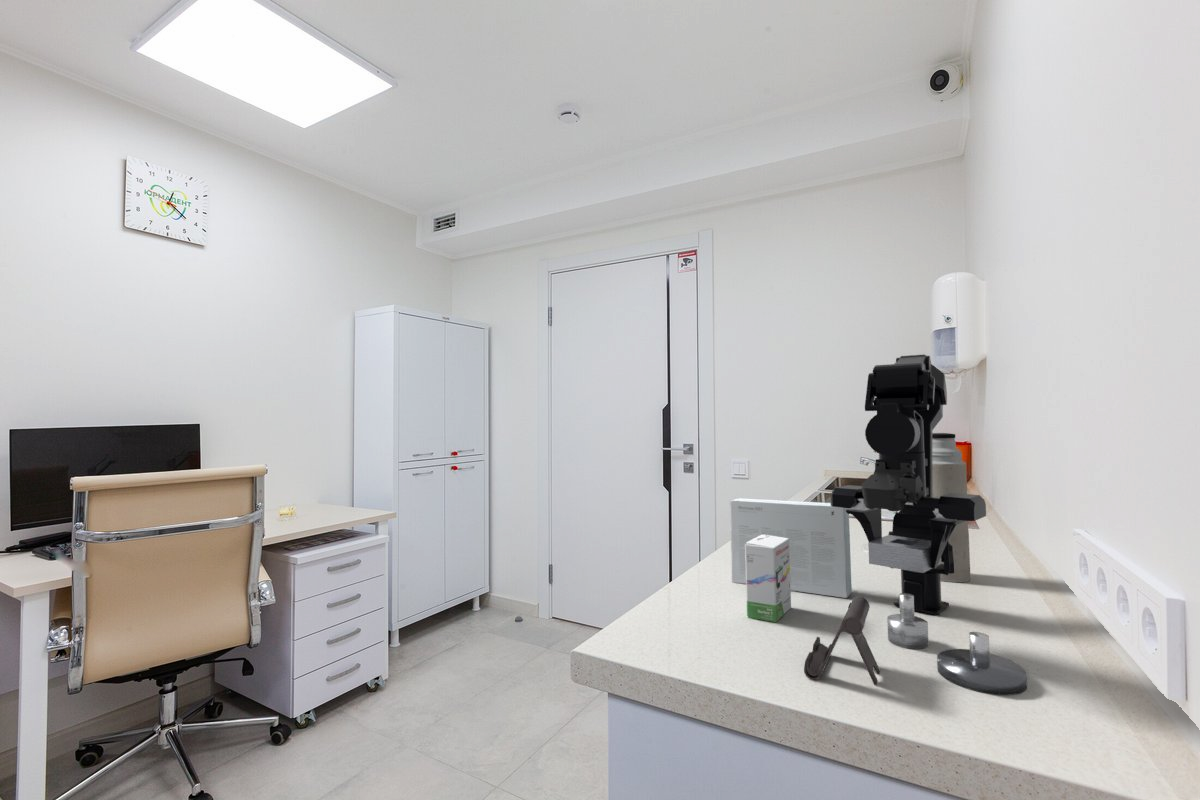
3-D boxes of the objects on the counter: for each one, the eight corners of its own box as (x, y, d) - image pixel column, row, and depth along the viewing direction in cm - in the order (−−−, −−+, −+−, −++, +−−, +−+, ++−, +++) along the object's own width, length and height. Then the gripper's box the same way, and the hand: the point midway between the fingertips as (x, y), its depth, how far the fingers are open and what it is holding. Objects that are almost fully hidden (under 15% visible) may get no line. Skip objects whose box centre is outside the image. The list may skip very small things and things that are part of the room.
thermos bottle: (954, 570, 114) (949, 432, 115) (980, 582, 106) (974, 433, 107) (914, 571, 114) (909, 432, 115) (937, 582, 106) (932, 434, 107)
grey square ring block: (889, 555, 84) (888, 534, 84) (941, 563, 79) (940, 542, 79) (869, 563, 80) (868, 542, 80) (923, 573, 75) (922, 550, 75)
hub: (951, 654, 75) (949, 616, 75) (1035, 677, 68) (1033, 635, 68) (926, 676, 69) (925, 634, 69) (1016, 703, 62) (1014, 657, 62)
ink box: (776, 623, 87) (774, 546, 88) (745, 617, 90) (743, 543, 90) (792, 607, 94) (790, 536, 95) (763, 602, 97) (761, 533, 97)
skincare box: (853, 591, 103) (850, 503, 103) (847, 599, 98) (845, 507, 98) (739, 575, 114) (737, 496, 114) (730, 582, 109) (728, 499, 110)
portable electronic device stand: (816, 652, 77) (814, 590, 77) (881, 664, 73) (879, 598, 73) (804, 678, 69) (802, 609, 69) (875, 693, 65) (873, 620, 65)
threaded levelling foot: (896, 632, 83) (894, 587, 83) (934, 642, 79) (932, 595, 79) (882, 641, 79) (880, 595, 80) (920, 652, 76) (919, 603, 76)
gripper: (810, 452, 82) (814, 561, 81) (957, 457, 68) (962, 589, 67) (846, 449, 89) (849, 548, 88) (984, 453, 75) (989, 571, 75)
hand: (905, 563), depth 79 cm, fingers closed on grey square ring block, 7 cm apart
